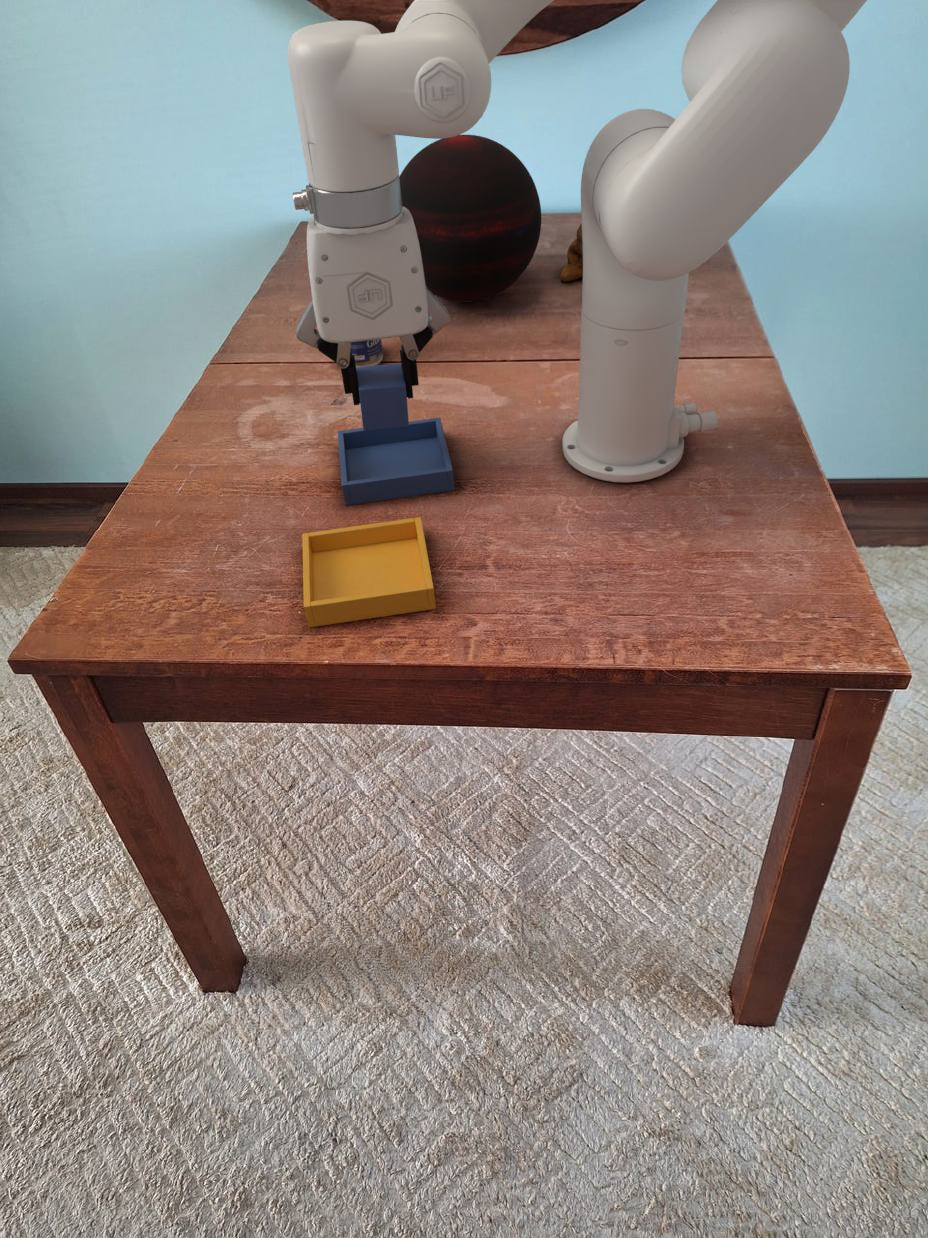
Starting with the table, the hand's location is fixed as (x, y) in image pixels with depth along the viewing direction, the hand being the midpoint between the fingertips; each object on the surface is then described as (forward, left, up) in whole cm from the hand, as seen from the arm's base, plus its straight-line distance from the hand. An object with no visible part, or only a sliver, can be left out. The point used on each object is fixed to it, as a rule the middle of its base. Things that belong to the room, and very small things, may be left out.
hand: (382, 393), depth 85 cm
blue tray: (0, 0, -9) cm, 9 cm away
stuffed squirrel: (-34, -44, -9) cm, 57 cm away
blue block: (0, 0, -3) cm, 3 cm away
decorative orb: (-14, -40, -9) cm, 43 cm away
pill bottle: (+2, -25, -9) cm, 27 cm away
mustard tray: (+4, +17, -9) cm, 20 cm away
